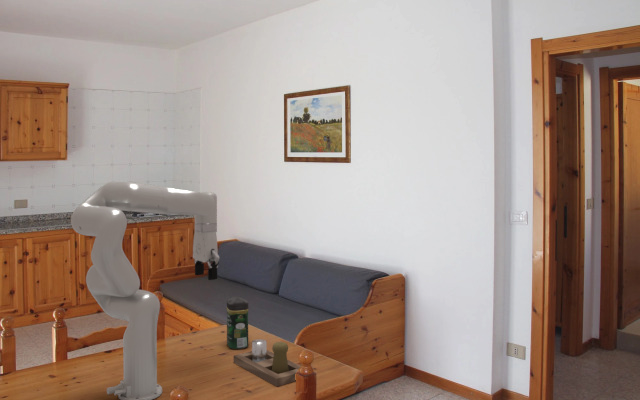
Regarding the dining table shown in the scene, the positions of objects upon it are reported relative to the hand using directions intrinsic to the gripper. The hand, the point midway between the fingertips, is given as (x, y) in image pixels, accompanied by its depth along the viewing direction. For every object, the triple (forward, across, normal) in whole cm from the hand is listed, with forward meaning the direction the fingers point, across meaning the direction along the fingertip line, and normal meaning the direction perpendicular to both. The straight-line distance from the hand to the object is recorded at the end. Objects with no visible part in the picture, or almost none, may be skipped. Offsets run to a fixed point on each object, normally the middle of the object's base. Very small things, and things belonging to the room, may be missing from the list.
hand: (205, 277), depth 190 cm
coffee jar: (+31, -9, +18) cm, 37 cm away
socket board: (+30, +19, +14) cm, 38 cm away
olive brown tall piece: (+31, +25, +14) cm, 42 cm away
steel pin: (+30, +12, +14) cm, 36 cm away
